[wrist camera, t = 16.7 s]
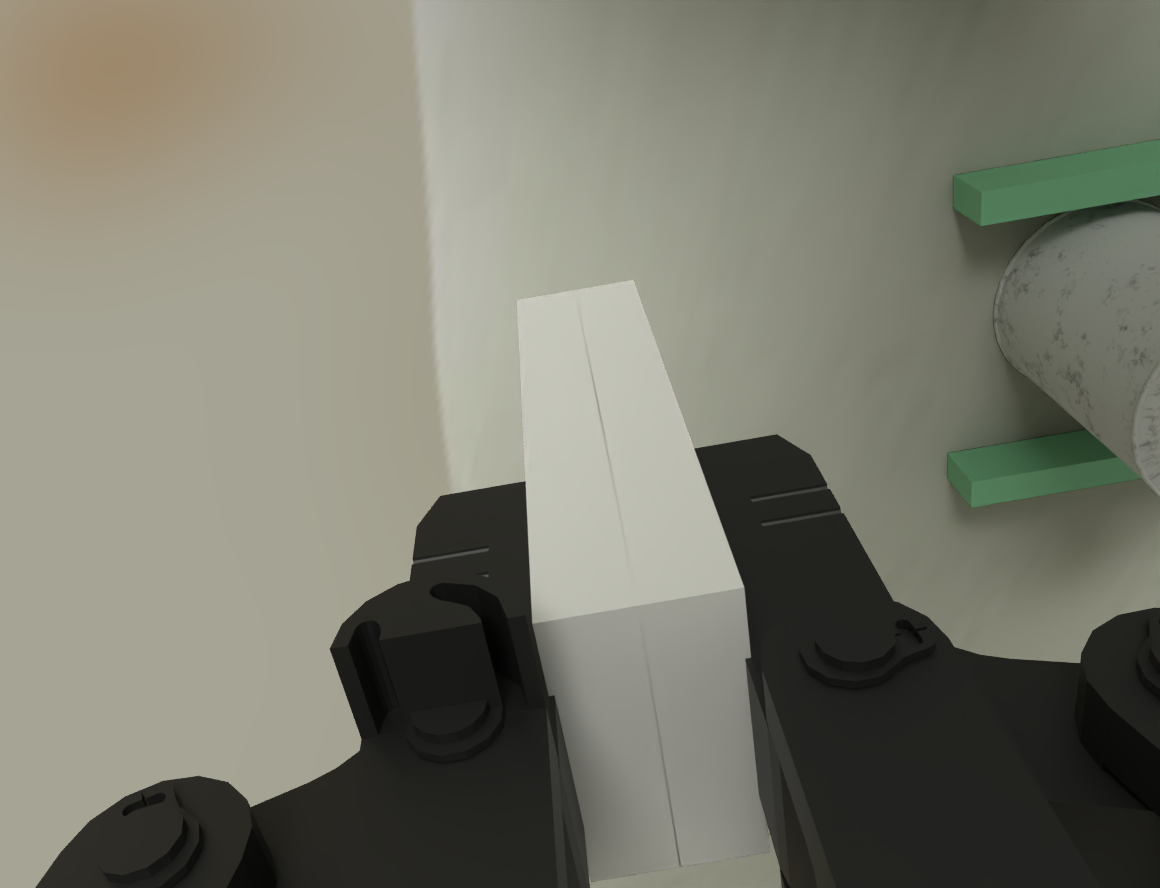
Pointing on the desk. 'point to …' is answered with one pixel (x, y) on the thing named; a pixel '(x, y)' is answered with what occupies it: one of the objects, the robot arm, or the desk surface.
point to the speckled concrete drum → (1092, 324)
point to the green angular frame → (1025, 196)
